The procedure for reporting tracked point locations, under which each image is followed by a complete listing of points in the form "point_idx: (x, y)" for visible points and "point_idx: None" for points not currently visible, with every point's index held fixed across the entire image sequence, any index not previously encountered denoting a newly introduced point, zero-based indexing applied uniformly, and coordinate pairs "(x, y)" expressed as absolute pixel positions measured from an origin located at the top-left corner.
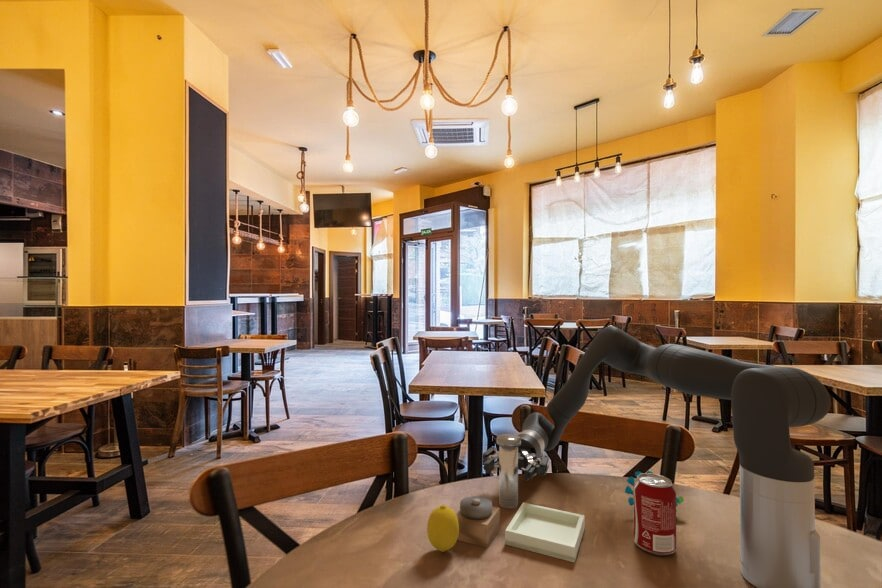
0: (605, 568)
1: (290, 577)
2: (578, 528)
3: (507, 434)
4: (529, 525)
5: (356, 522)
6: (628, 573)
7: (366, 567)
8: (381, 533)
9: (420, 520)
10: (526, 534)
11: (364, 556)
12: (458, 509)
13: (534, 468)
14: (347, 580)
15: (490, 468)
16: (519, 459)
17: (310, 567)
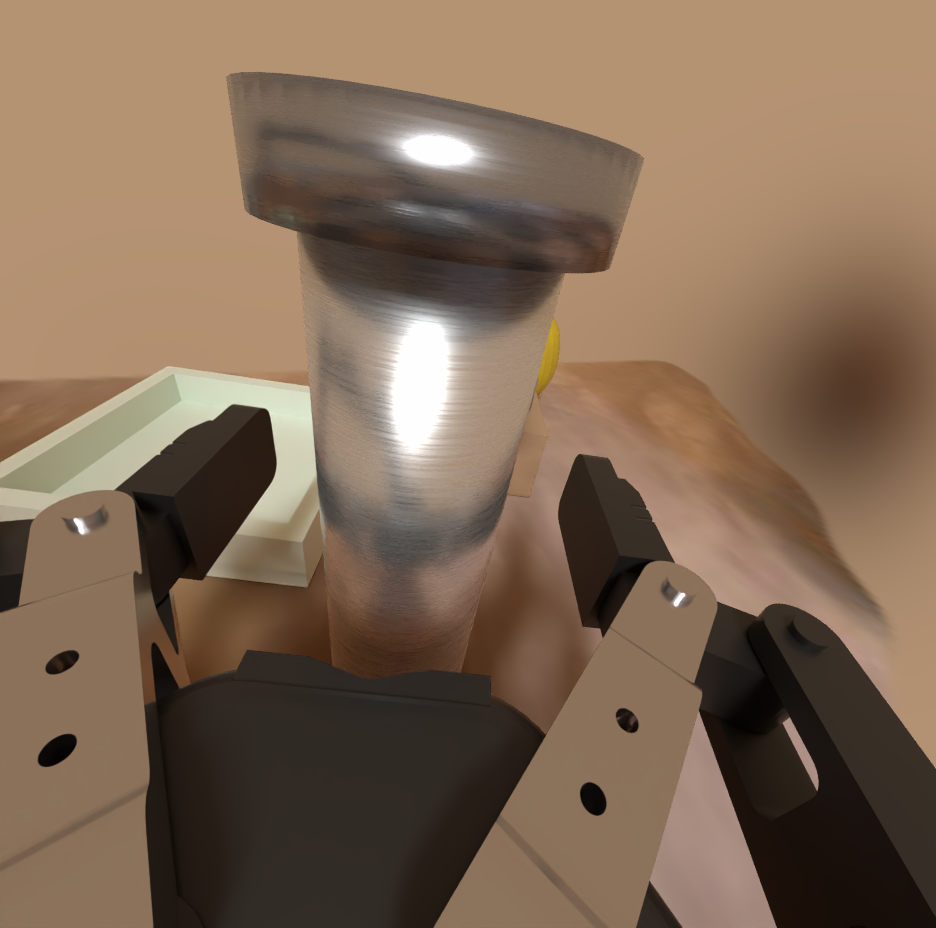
0: (89, 399)
1: (656, 362)
2: (82, 420)
3: (531, 123)
4: (288, 481)
5: (752, 447)
6: (24, 392)
7: (595, 375)
8: (666, 428)
9: (646, 476)
10: (309, 389)
11: (622, 388)
12: (535, 400)
13: (125, 482)
14: (592, 362)
15: (571, 522)
16: (279, 659)
17: (658, 372)
